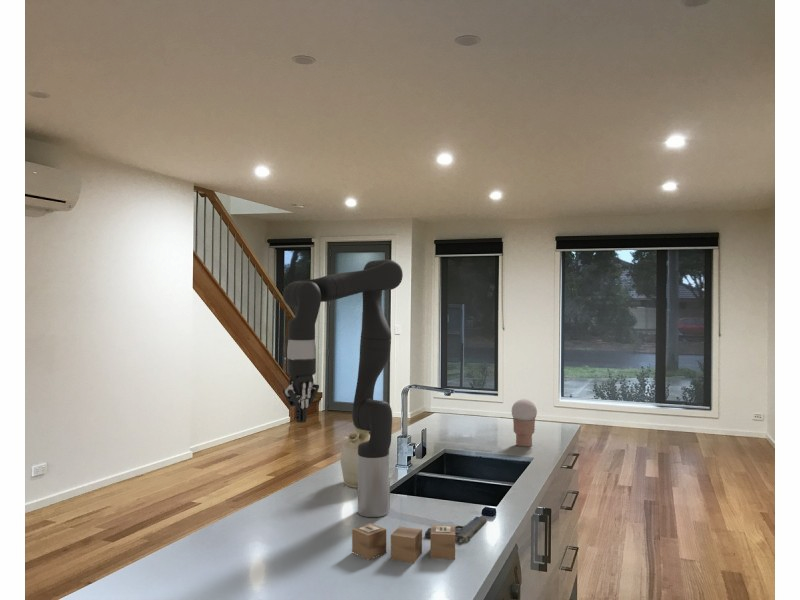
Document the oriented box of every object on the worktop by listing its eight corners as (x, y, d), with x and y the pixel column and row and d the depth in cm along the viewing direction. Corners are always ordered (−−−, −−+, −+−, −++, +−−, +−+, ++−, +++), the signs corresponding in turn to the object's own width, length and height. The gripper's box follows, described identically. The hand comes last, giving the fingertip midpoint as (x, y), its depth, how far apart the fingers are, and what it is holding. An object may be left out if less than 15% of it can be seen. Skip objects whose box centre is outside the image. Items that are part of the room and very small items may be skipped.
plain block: (399, 550, 154) (399, 526, 154) (421, 553, 152) (422, 529, 152) (390, 559, 148) (390, 534, 148) (414, 563, 146) (414, 538, 146)
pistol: (448, 517, 179) (487, 523, 174) (422, 539, 162) (465, 547, 157) (448, 510, 179) (487, 516, 174) (422, 531, 162) (465, 539, 157)
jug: (358, 493, 199) (358, 416, 200) (331, 482, 211) (331, 410, 211) (393, 484, 209) (394, 411, 210) (366, 474, 221) (366, 405, 221)
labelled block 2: (431, 548, 155) (431, 524, 155) (455, 549, 155) (455, 524, 155) (430, 558, 149) (430, 532, 149) (455, 559, 149) (455, 533, 149)
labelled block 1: (370, 546, 156) (370, 522, 156) (386, 553, 152) (386, 528, 152) (352, 553, 152) (352, 528, 152) (368, 560, 148) (368, 534, 148)
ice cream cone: (540, 444, 269) (540, 398, 269) (531, 449, 260) (531, 402, 260) (517, 441, 275) (517, 396, 275) (507, 445, 266) (507, 399, 266)
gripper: (306, 354, 170) (305, 416, 170) (274, 357, 158) (273, 424, 158) (328, 355, 166) (327, 419, 166) (296, 359, 155) (296, 428, 154)
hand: (301, 422), depth 162 cm, fingers closed
